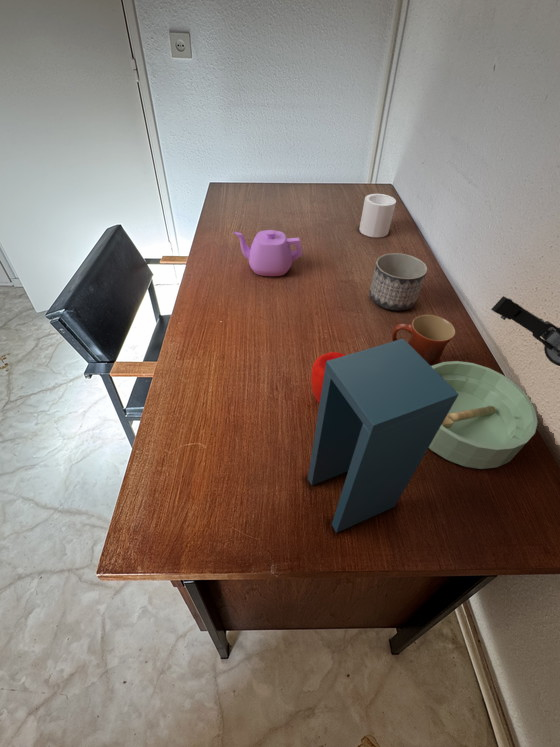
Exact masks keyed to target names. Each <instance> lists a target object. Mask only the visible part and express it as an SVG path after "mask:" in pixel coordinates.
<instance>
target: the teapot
mask: <svg viewBox="0 0 560 747" xmlns="http://www.w3.org/2000/svg"><path fill="white" fill-rule="evenodd" d="M232 233H233V234H235V236H237V238H238V241H239V244H240V250H241V254H242V256H243V257H244V258H245V259H247V260H248V264H249V267H250V269H251V270H252V271H253V272H254V273H255V274H256V275H259V276H262V277H280V276H284V275H286V273H288V272H289V270H290V268H291V267H292V265H293V262H295V261H296V260H298V259H299V258H300V257H302V256H303V255H304V254H303V249H302V244H301V239H300V237H290V238H287V236H286V233H285V232H283V231H280V230H274V229H266V230H260V231H258V232H257V233H256V234H255V236H254V239H253V241H252V242H251V244H250V245H251V246H248V244H247V242H246V238H245V236H244V234H243V233H241V232H239V231H235V230H234V231H232ZM293 245H295V250H294V251H293V250H292V247H291V246H293Z"/></svg>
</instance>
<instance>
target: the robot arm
mask: <svg viewBox="0 0 560 747" xmlns="http://www.w3.org/2000/svg"><path fill="white" fill-rule="evenodd" d="M490 310H491V311H492V312H494V313H496V314H498V315H499V316H500V318H501V320H503V321H506V319H507V320H509V321H511V320H512V321H513V322H515V323H516V324H518V325H520V326H521V327H522V328H524V329H526V330H527V331H529V332H531V333H532V337H533V338H534V339H536V340H537V341H539V342H540V343H542V345H543V347H544V348H543V351H544V355H545V357H546V359H548V361H550V363H552V364H553V365H556V366H557V367H558V366H560V327H558V326H556V325H554V324H553V323H552V322H551V321H548V320H544V319H543V318H539V317H538V316H536V315H535V314H533V313H532V312H530V311H529V310H527V309H525V308H524V307H522V306H521V305H519V304H518V303H517V302H514V301H513V300H512V299H511V298H509V297H506V296H504V295H503V296H501V298H500V299H499V300H498V301H497V302H496V303H495V304H494V306H493V307H492V308H491V309H490Z"/></svg>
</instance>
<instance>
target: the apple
mask: <svg viewBox="0 0 560 747" xmlns="http://www.w3.org/2000/svg"><path fill="white" fill-rule="evenodd" d="M346 355H347V354H344V353H342V352H336V351H331V352H325V353H324V354H322V355H320V356H318V357H317V359H316V360H315V361H314V363H313V364H312V367H311V368H312V370H311V374H310V381H311V389H312V393H313V396H314V398H315V400H316V401H317V402H318V403H317V404H320V398H321V392H322V385H323V379H324V373H325V366H326V361H329V360H332V359H336V358H339V357H342V356H346Z"/></svg>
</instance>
